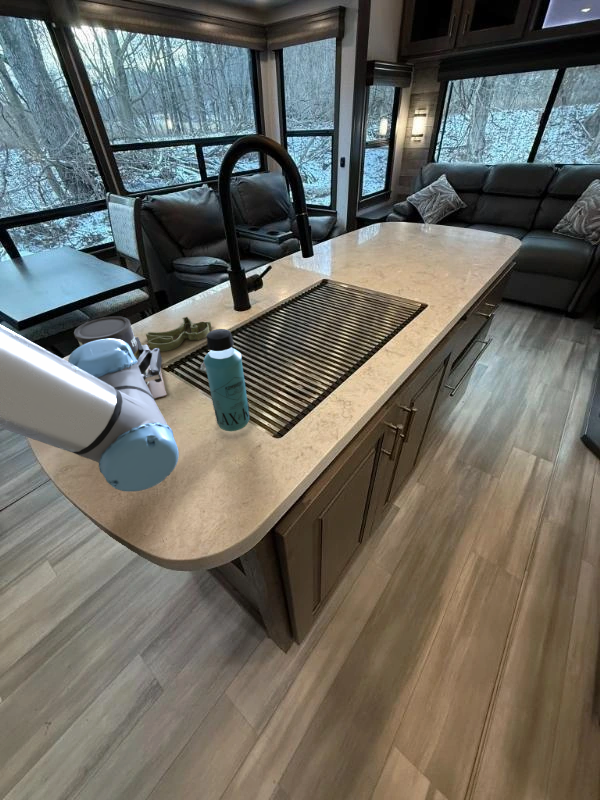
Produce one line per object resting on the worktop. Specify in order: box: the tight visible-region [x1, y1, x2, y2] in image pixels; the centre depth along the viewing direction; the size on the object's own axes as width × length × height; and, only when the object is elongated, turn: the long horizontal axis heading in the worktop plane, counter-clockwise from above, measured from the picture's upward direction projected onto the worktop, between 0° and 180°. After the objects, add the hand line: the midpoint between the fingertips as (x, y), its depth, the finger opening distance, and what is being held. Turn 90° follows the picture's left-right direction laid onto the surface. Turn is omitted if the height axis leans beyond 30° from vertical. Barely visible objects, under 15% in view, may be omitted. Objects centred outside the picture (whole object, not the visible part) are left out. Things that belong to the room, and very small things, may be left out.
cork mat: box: [147, 365, 167, 400], centre depth 76 cm, size 16×16×1 cm
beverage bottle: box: [203, 328, 251, 432], centre depth 58 cm, size 6×7×20 cm
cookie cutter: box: [145, 316, 212, 352], centre depth 94 cm, size 18×12×2 cm, turn 142°
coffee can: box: [73, 316, 149, 385], centre depth 71 cm, size 10×10×14 cm
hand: (113, 348), depth 74 cm, fingers closed on coffee can, 10 cm apart
